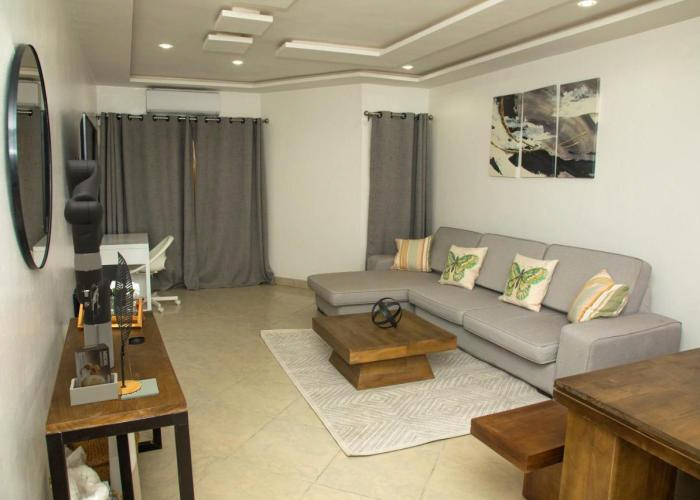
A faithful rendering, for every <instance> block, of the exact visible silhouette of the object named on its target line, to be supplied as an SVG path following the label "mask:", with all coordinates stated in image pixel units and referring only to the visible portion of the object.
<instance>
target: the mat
mask: <svg viewBox="0 0 700 500" xmlns="http://www.w3.org/2000/svg"><path fill="white" fill-rule="evenodd" d="M137 381H138V382H141V383H142V387H141V389H140V390H138V391H137V392H134V393H132V394H127V395H122V396H121V395H120V396H121V397H120V398H121V401H126V400H130V399H138V398H139V399H140V398H144V397H149V396H157V395H159V394H160V391H159V388H158V384H157V379H156V377H155V378H148V379H142V380H137Z"/></svg>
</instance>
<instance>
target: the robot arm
mask: <svg viewBox="0 0 700 500" xmlns="http://www.w3.org/2000/svg"><path fill="white" fill-rule="evenodd" d="M101 167H102V166H101V164H100V162H99V161H97V160H96V159H95V160H94V159H69V160H66V162H65V167H64V168H65V180H66V185H67V186H66V187H67V193H68V199H69V200H68V201H67V203H66V204H65V206H64V208H63V209H64V210H63V217H64V219H65V221H66V222H67V223H68V224H69V225H71V234H72V244H73V254H74V255H73V262H74V263H73V264H74V265H73V266H74V268H73V269H74V276H75V293H76V299H77V302H78V303H79V304H80V305H82V310H83V311H84V315H83V316H82V321H83V339H84V346H89V345H95V344H101V343H105V344H106V345H107V346H108V347H109V354H110V366H111V369H112V368H114V367H115V360H114V345H113V344H114V342H113V341H114V340H113V328H112V327H113V326H112V310H111V306H112V305H111V283H110V281H109V279H108V278H106V277H103V265H102V256H101V245H102V239H103V238H102V237H103V236H102V221H103V218H104V213H105V212H104V211H105V210H104V207H103V205H102V204H101V203H100V202H99V201H98V193H99V190H100V187H101V185H102V179H103V178H102V176H103V175H102V168H101ZM98 304H99V306H98Z"/></svg>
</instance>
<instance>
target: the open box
mask: <svg viewBox="0 0 700 500" xmlns="http://www.w3.org/2000/svg"><path fill="white" fill-rule="evenodd" d="M111 379H112V383H109V384H102V385H95V386H88V387H81V388H78V384H77V377H76V378H72V379H71V382H70V383H71V384H70V388H69V396H70V397H69V398H70V407H72V406H73V407H74V406H78V405H84V404H85V405H86V404H91V403H98V402H103V401H112V400H116V399H117V400H119V386H118V385H119V384H118V383H119V382H118V372H113V373H112V372H111Z"/></svg>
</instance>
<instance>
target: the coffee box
mask: <svg viewBox="0 0 700 500" xmlns="http://www.w3.org/2000/svg"><path fill="white" fill-rule="evenodd" d="M74 358H75V371H76V378H77V384H78V388H81V387H88V386H95V385H102V384H109V383H112V379H111V374H112V368H111V366H110V354H109V347H108V346H107V345H106V344H105V343H101V344H95V345H89V346H85V345H84V346H78V347H74Z"/></svg>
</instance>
